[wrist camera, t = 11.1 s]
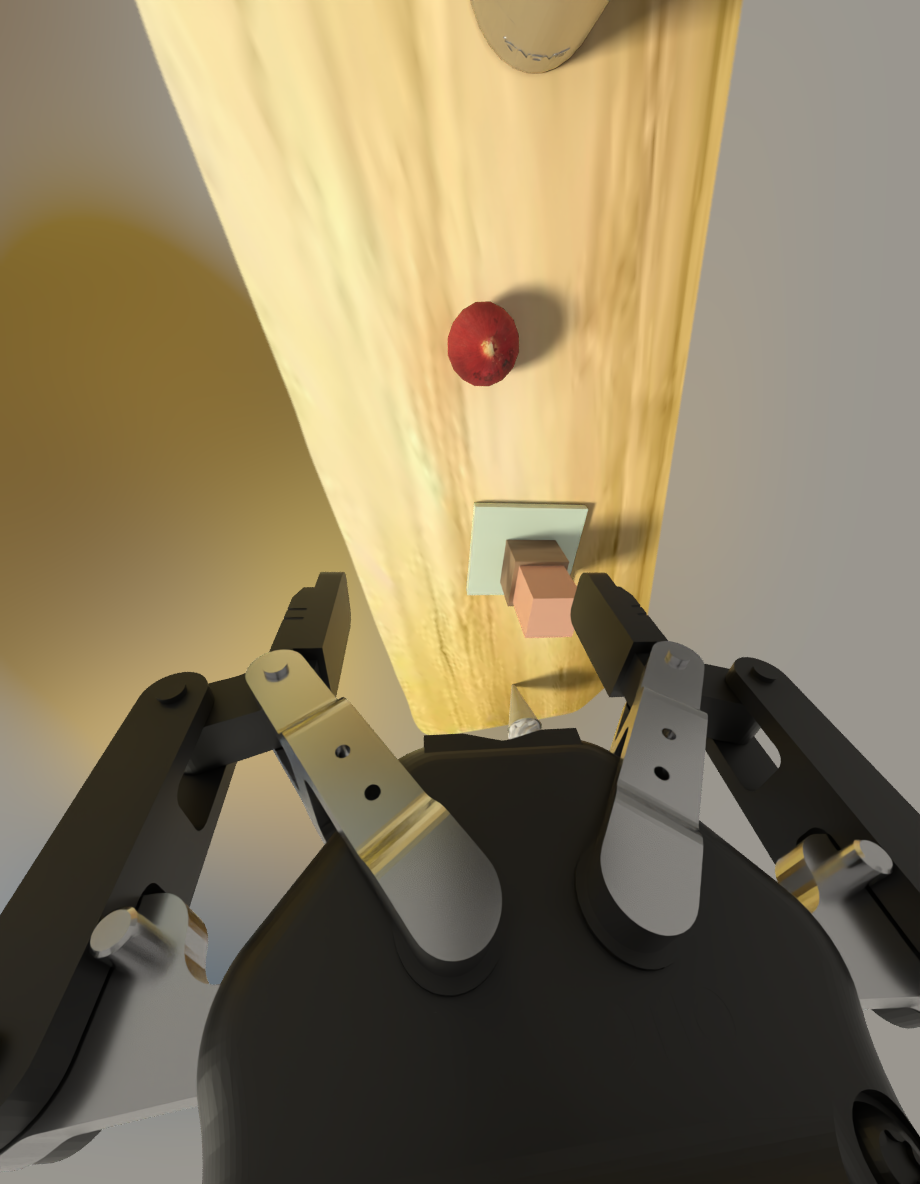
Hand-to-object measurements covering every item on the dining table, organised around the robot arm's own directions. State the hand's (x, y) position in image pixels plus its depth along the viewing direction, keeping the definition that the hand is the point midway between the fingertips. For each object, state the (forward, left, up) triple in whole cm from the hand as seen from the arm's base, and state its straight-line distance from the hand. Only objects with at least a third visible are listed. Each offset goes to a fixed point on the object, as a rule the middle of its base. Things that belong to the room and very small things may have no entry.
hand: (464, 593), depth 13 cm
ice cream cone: (+40, +14, -30) cm, 52 cm away
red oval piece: (-6, +4, -30) cm, 31 cm away
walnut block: (+16, +12, -29) cm, 35 cm away
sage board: (+15, +11, -30) cm, 36 cm away
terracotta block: (+16, +12, -24) cm, 31 cm away
